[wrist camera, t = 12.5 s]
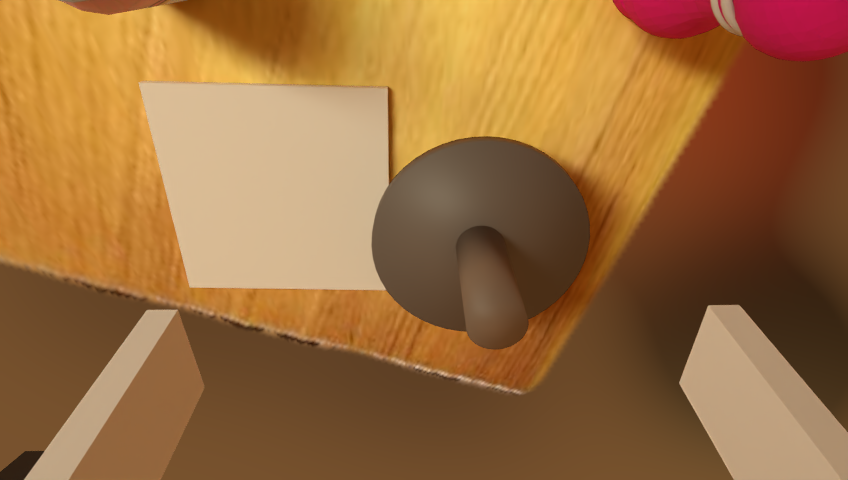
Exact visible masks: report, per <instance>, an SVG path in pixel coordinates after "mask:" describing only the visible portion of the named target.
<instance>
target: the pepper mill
mask: <svg viewBox="0 0 848 480" xmlns="http://www.w3.org/2000/svg"><path fill="white" fill-rule="evenodd" d="M613 2H614V4H615V5H616V7H617V8H618V10H619V11H620V12H621V13H622V14H623V15H625V16H626V17H628V18H629V19H632V20H633V21H634V22H635V24H636V25H638V26H639V27H640V28H641V29H643V30H644V31H646V32H648V33H650V34H652V35H655V36H659V37H664V38H678V39H681V38H687V37H692V36H695V35H698V34H701V33H704V32H707V31H709V30H711V29H714V28H716V27H718V26H719V25H721V26H722V27H723V28H725V29H726V30H727V31H729V32H731V33H733V34H735V35H738V36H743V37H744V38H745V39H746V40H747V41H748V42H749V43H750V44H751V45H752V46H753V47H754V48H755V49H756V50H759V51H761V52H763V53H765V54H767V55H769V56H772V57H775V58H777V59H782V60H789V61H812V60H821V59H826V58H830V57H834V56H837V55H839V54H842V53H845V52H848V0H613Z"/></svg>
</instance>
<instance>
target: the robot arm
mask: <svg viewBox="0 0 848 480" xmlns="http://www.w3.org/2000/svg"><path fill="white" fill-rule="evenodd" d="M679 384H680V386H681V387H682V389H683V391H684V393H685V394H686V396H687V398H688V399H689V401H690V403H691V405H692V407H693V408H694V410H695V412H696V414H697V415H698V417H699V419H700V421H701V422H702V424H703V426H704V428H705V430H706V431H707V433H708V435H709V437H710V438H711V440H712V442H713V444H714V445H715V447H716V449H717V451H718V452H719V454H720V456H721V457H722V459H723V461H724V463H725V465H726V466H727V468H728V470H729V472H730V473H731V475H732V477H733V479H734V480H848V432H847V431H846V430H845V429H844V428H843V427H842V425H841V424H840V423H839V422H838V421H837V420H836V418H835V417H834V416H833V415H832V414H831V412H830V411H829V410H828V409H827V408H826V407H825V406H824V404H823V403H822V402H821V401H820V399H819V398H818V397H817V396H816V395H815V394H814V393H813V391H812V390H811V389H810V388H809V387H808V386H807V384H806V383H805V382H804V381H803V379H802V378H801V377H800V376H799V375H798V374H797V372H796V371H795V370H794V369H793V368H792V366H791V365H790V364H789V363H788V362H787V361H786V359H785V358H784V357H783V356H782V355H781V354H780V352H779V351H778V350H777V349H776V348H775V346H774V345H773V344H772V343H771V342H770V341H769V339H768V338H767V337H766V336H765V335H764V334H763V332H762V331H761V330H760V329H759V328H758V327H757V325H756V324H755V323H754V322H753V321H752V319H751V318H750V317H749V316H748V315H747V314H746V312H745V311H744V310H743V309H742V308H741V307H740V305H709V306H708V308H707V311H706V313H705V316H704V319H703V321H702V324H701V326H700V329H699V332H698V334H697V337H696V340H695V342H694V345H693V348H692V350H691V353H690V355H689V358H688V361H687V364H686V366H685V369H684V372H683V374H682V377H681V380H680V382H679ZM203 389H204V384H203V381H202V378H201V375H200V373H199V370H198V367H197V364H196V361H195V358H194V355H193V352H192V349H191V346H190V343H189V341H188V338H187V335H186V332H185V329H184V327H183V324H182V320H181V317H180V315H179V312H178V310H147V311H146V312H145V314H144V315H143V316H142V318H141V319H140V320H139V322H138V323H137V325H136V326H135V327H134V329H133V330H132V331H131V333H130V334H129V335H128V337H127V338H126V340H125V341H124V342H123V344H122V345H121V347H120V348H119V349H118V351H117V352H116V353H115V355H114V356H113V358H112V359H111V360H110V362H109V363H108V364H107V366H106V367H105V369H104V370H103V371H102V373H101V374H100V376H99V377H98V378H97V380H96V381H95V383H94V384H93V385H92V387H91V388H90V389H89V391H88V392H87V394H86V395H85V396H84V398H83V399H82V401H81V402H80V403H79V405H78V406H77V407H76V409H75V410H74V411H73V413H72V414H71V416H70V417H69V418H68V420H67V421H66V422H65V424H64V425H63V427H62V428H61V430H60V431H59V432H58V434H57V435H56V436H55V438H54V439H53V441H52V442H51V443H50V445H49V446H48V447H47V449H46V450H45V451H25V452H24V453H23V454H21V455H20V456H19V457H18V458H17V459H15V460H14V461H13V462H12V463H10V464H9V465H8V466H7V467H6V468H4V469H3V470H2V471H1V472H0V480H160V479H161V477H162V476H163V473H164V471H165V469H166V467H167V465H168V463H169V461H170V459H171V457H172V455H173V452H174V450H175V448H176V446H177V444H178V442H179V440H180V438H181V436H182V433H183V431H184V429H185V427H186V425H187V423H188V421H189V419H190V417H191V415H192V412H193V410H194V408H195V406H196V404H197V402H198V400H199V398H200V396H201V394H202V391H203Z"/></svg>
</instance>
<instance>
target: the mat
mask: <svg viewBox="0 0 848 480" xmlns="http://www.w3.org/2000/svg"><path fill="white" fill-rule="evenodd" d="M139 86H140V90H141V94H142V98H143V102H144V106H145V110H146V114H147V118H148V122H149V126H150V130H151V134H152V138H153V142H154V146H155V150H156V154H157V158H158V162H159V166H160V170H161V174H162V178H163V182H164V186H165V190H166V194H167V198H168V202H169V206H170V210H171V214H172V218H173V222H174V226H175V230H176V234H177V238H178V242H179V246H180V250H181V254H182V258H183V262H184V266H185V270H186V274H187V278H188V282H189V286H190V287H199V288H268V289H336V290H386V288H385V287H384V285H383V284H382V282H381V280H380V278H379V276H378V273H377V271H376V268H375V264H374V261H373V256H372V247H371V243H372V230H373V224H374V219H375V214H376V211H377V208H378V205H379V202H380V200H381V198H382V196H383V194H384V192H385V190H386V189H387V187H388V186H389V139H388V87H376V86H334V85H292V84H250V83H208V82H166V81H141V82H139Z"/></svg>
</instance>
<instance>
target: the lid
mask: <svg viewBox="0 0 848 480" xmlns="http://www.w3.org/2000/svg"><path fill="white" fill-rule="evenodd" d="M589 238H590V223H589V217H588V211H587V208H586V205H585V202H584V199H583V197H582V196H581V194H580V192H579V190H578V188H577V186H576V185H575V184H574V182H573V181H572V179H571V178H570V177H569V175H568V174H567V173H566V171H565V170H564V169H563V168H562V167H561V166H560V165H559V164H558V163H557V162H556V161H555V160H553V159H552V158H551V157H549V156H548V155H547V154H545V153H544V152H542V151H540V150H538V149H536V148H534V147H532V146H530V145H527V144H525V143H522V142H519V141H516V140H511V139H506V138H500V137H488V136H487V137H470V138H464V139H458V140H455V141H451V142H448V143H445V144H442V145H439V146H437V147H435V148H433V149H430V150H428V151H427V152H425V153H423V154H422V155H420V156H418V157H417V158H415V159H414V160H413V161H411V162H410V163H409V164H408V165H407V166H405V167H404V168H403V169H402V170H401V171H400V172H399V173H398V174H397V175H396V176H395V178H394V179H393V180H392V182H391V183H390V184H389V186H388V187H387V189H386V190H385V192H384V194H383V196H382V198H381V200H380V202H379V205H378V208H377V211H376V214H375V219H374V224H373V230H372V243H371V247H372V256H373V261H374V264H375V268H376V271H377V273H378V276H379V278H380V280H381V282H382V284H383V285H384V287H385V288H386V290H387V291H388V293H389V294H390V295H391V296H392V297H393V299H394V300H395V301H396V302H397V303H398V304H399V305H401V306H402V307H403V308H404V309H405V310H407V311H408V312H410V313H411V314H412V315H414V316H416V317H418V318H419V319H421V320H423V321H425V322H428V323H430V324H433V325H435V326H439V327H442V328H446V329H451V330H457V331H467V334H468V336H469V338H470V339H471V340H472V341H473V342H474V343H475V344H477V345H479V346H481V347H483V348H487V349H503V348H507V347H510V346H512V345H514V344H515V343H517V342H518V341H520V340H521V339H522V338H523V336H524V335H525V333H526V331H527V329H528V319H530V318H532V317H534V316H536V315H538V314H539V313H541V312H542V311H544V310H546V309H547V308H548V307H549V306H551V305H552V304H553V303H555V302H556V301H557V300H558V299H559V298H560V297H561V296H562V295H563V294H564V293H565V292H566V291H567V289H568V288H569V287H570V286H571V284H572V283H573V282H574V280H575V278H576V277H577V275H578V274H579V272H580V270H581V267H582V265H583V263H584V261H585V257H586V254H587V251H588V245H589Z"/></svg>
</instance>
